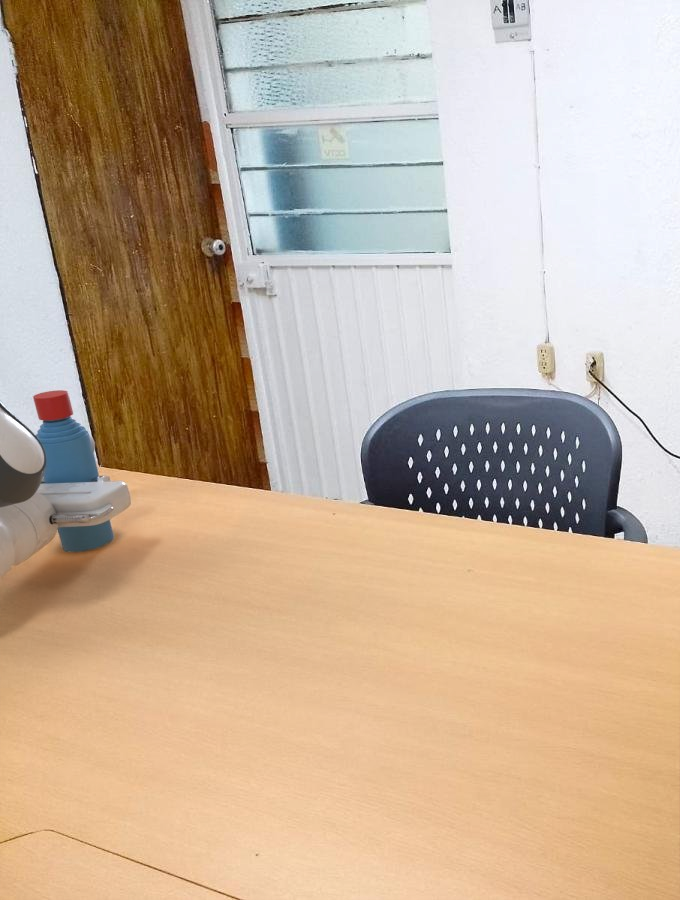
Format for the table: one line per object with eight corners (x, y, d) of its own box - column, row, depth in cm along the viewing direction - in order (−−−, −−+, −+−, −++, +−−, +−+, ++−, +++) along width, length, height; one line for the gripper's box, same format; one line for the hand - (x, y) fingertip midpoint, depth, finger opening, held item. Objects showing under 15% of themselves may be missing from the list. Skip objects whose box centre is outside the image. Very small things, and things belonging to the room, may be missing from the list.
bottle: (55, 554, 115) (14, 406, 108) (72, 535, 121) (35, 393, 114) (105, 549, 116) (68, 402, 109) (120, 530, 122) (86, 389, 115)
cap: (33, 421, 110) (27, 399, 109) (45, 413, 114) (39, 391, 113) (66, 419, 111) (60, 396, 110) (77, 410, 114) (72, 389, 113)
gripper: (92, 496, 103) (146, 458, 116) (-75, 502, 102) (-2, 463, 115) (104, 542, 105) (156, 499, 118) (-60, 548, 104) (10, 504, 117)
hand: (76, 481), depth 116 cm, fingers closed on bottle, 6 cm apart
